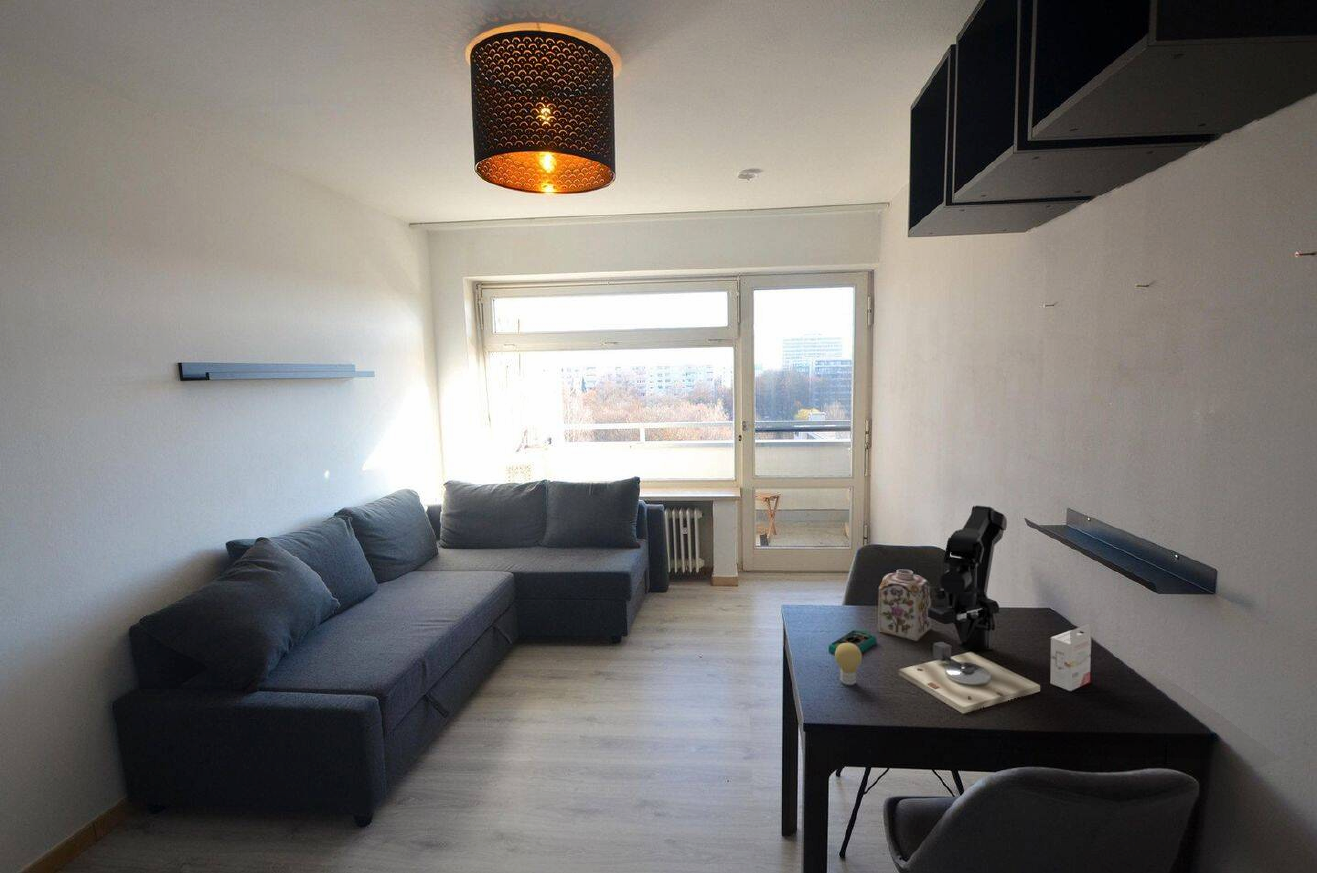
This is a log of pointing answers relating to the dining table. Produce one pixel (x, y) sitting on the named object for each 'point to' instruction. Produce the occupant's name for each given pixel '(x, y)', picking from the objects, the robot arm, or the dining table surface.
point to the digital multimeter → (855, 640)
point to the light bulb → (848, 661)
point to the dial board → (966, 696)
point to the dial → (960, 667)
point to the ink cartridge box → (1071, 658)
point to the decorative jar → (904, 605)
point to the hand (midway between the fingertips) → (963, 641)
